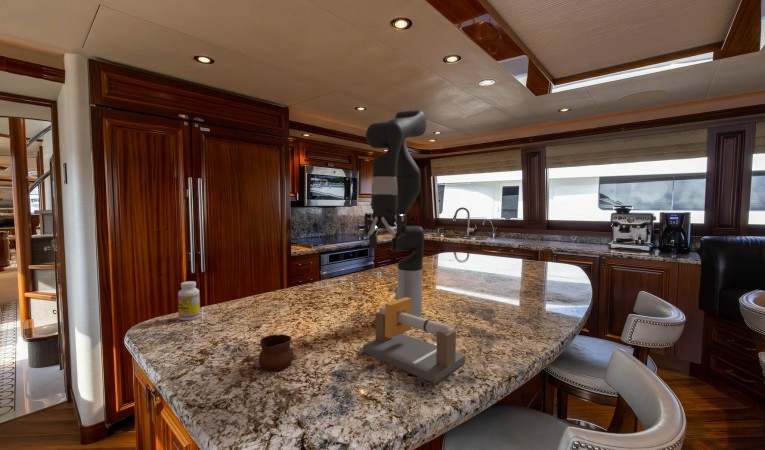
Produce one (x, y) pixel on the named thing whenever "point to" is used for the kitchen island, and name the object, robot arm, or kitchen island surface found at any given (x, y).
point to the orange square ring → (391, 316)
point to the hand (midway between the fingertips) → (383, 249)
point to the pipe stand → (416, 348)
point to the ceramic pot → (274, 353)
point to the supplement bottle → (188, 301)
